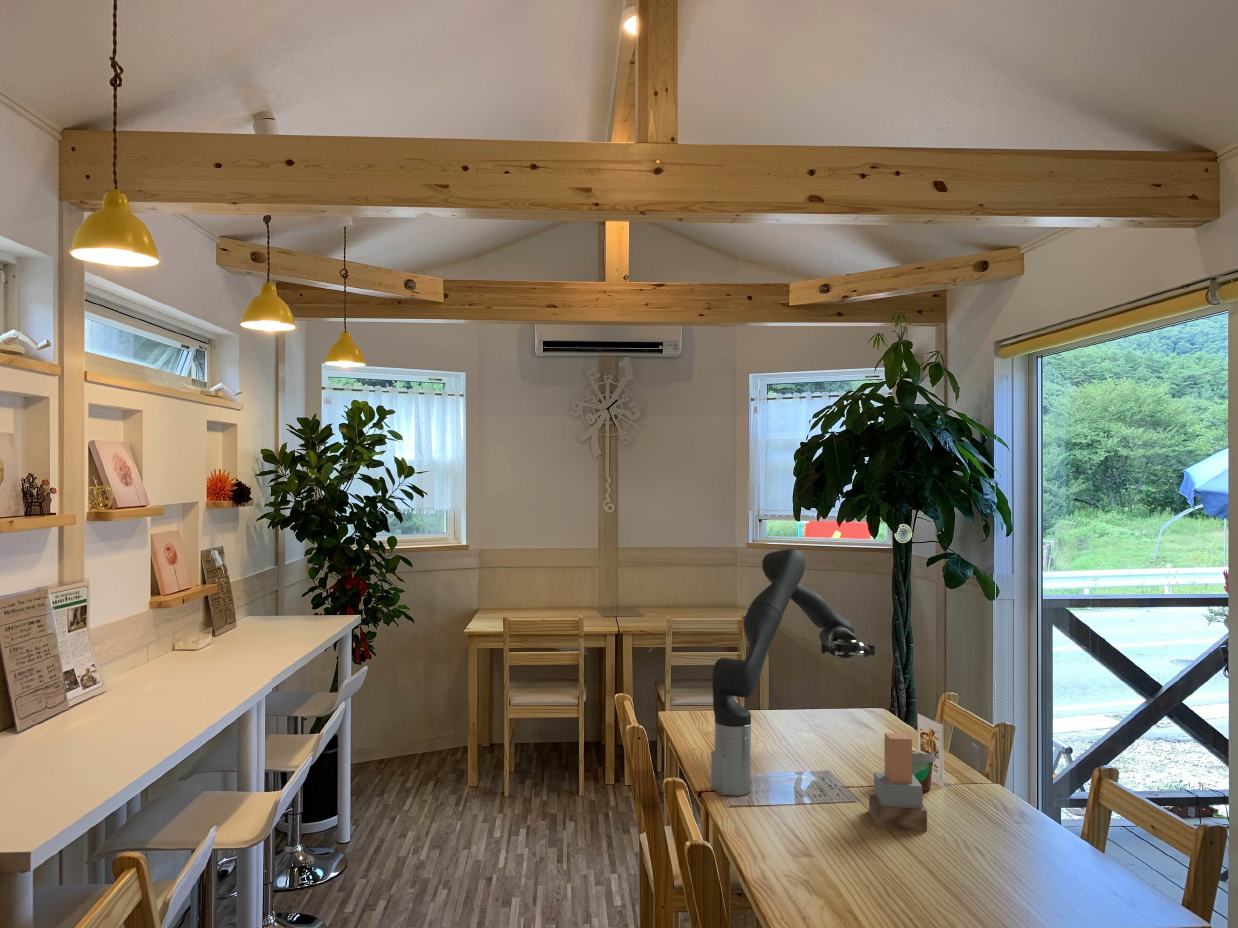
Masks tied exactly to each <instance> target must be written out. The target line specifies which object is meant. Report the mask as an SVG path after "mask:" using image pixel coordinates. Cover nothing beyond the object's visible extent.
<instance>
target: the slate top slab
mask: <svg viewBox="0 0 1238 928" xmlns="http://www.w3.org/2000/svg"><path fill="white" fill-rule="evenodd" d="M873 780H874V781H873V792H874V794H875V796H876V797H877V799H878V801H879V802H880V804H881V806H882V807H899V808H920V809H922V804H923V793H922V785H921V784H920V783H919V781H918V780H917V779H916V777H915V776H914V775H913V774H912V783H890V782H889V780H888V779H887V778H886V777H885V772H877V771H875V772H874V773H873Z"/></svg>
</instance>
